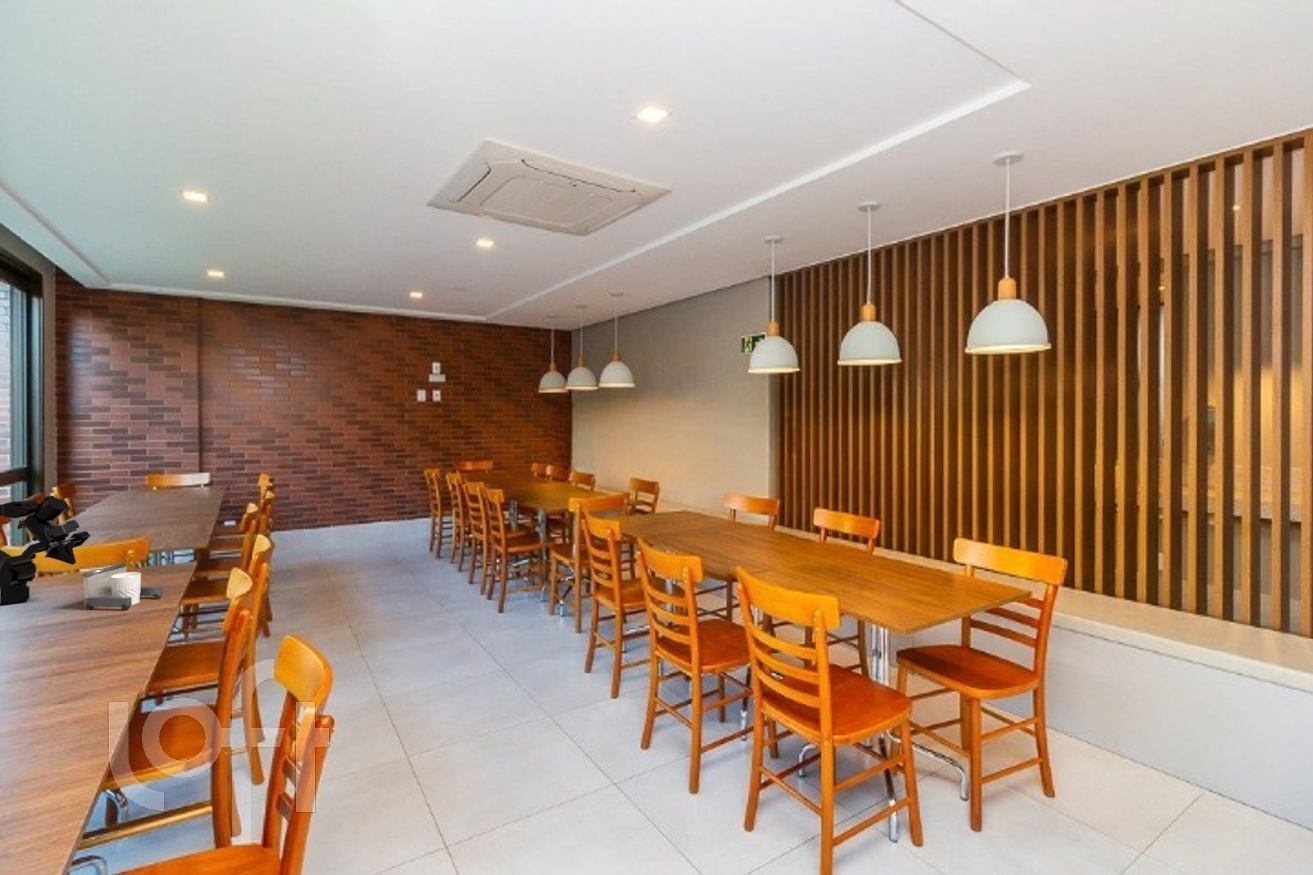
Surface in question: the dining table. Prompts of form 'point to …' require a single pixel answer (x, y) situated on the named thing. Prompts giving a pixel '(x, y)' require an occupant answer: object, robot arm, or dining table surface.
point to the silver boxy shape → (101, 592)
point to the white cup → (127, 586)
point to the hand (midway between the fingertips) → (74, 563)
